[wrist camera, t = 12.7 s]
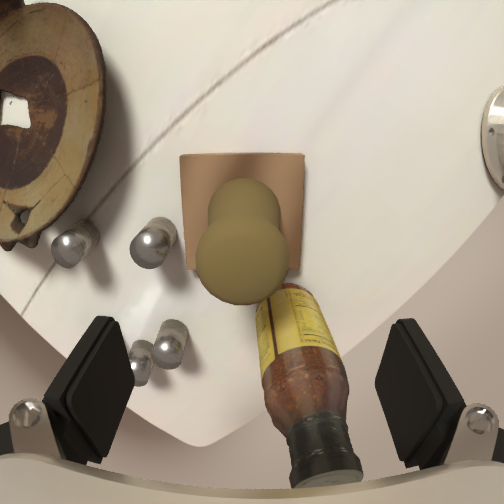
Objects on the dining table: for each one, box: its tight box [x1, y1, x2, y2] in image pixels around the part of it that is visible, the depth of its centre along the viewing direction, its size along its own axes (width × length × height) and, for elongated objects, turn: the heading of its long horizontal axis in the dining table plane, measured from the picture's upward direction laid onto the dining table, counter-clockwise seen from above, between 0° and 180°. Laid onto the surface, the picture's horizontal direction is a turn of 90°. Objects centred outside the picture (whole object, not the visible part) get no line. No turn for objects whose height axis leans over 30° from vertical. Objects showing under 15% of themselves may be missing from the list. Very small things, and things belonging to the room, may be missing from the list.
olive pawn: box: [195, 178, 289, 305], centre depth 21 cm, size 6×6×11 cm
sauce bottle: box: [256, 283, 363, 489], centre depth 22 cm, size 6×6×20 cm
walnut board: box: [180, 153, 305, 270], centre depth 27 cm, size 10×10×2 cm
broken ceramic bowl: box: [0, 0, 106, 251], centre depth 19 cm, size 22×30×8 cm
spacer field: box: [51, 217, 188, 386], centre depth 29 cm, size 11×17×4 cm, turn 0°
